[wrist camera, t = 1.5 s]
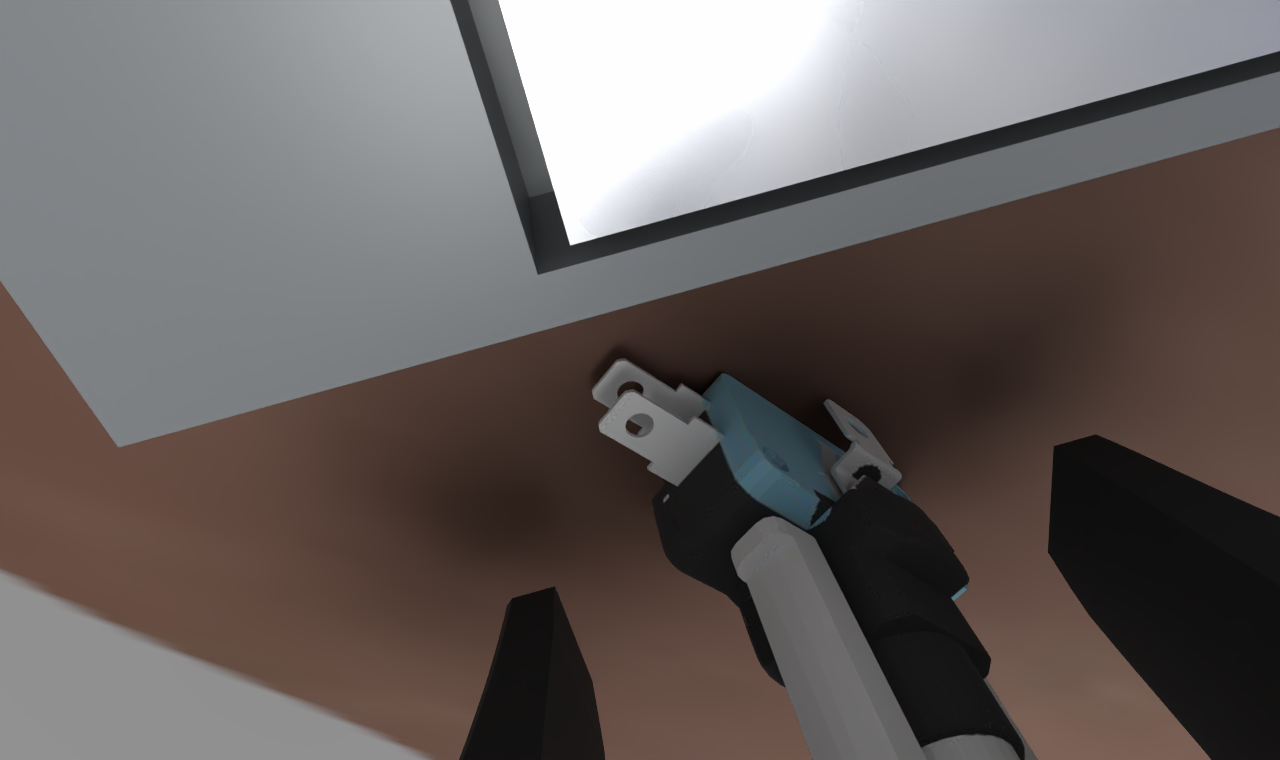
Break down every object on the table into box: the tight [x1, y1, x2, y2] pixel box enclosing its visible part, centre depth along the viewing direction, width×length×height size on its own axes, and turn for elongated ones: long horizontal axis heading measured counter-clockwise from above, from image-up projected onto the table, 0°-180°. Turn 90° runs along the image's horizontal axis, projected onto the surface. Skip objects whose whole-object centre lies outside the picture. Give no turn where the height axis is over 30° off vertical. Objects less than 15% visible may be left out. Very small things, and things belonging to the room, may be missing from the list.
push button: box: [592, 358, 1038, 760], centre depth 10 cm, size 7×5×10 cm
